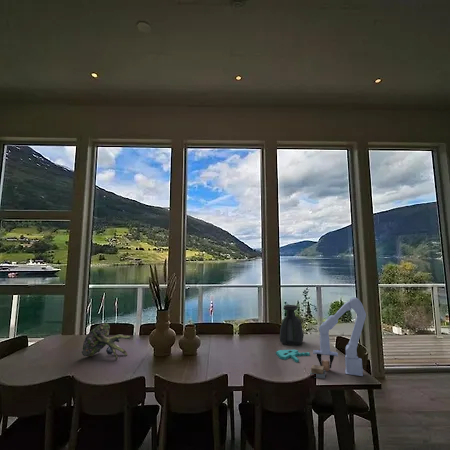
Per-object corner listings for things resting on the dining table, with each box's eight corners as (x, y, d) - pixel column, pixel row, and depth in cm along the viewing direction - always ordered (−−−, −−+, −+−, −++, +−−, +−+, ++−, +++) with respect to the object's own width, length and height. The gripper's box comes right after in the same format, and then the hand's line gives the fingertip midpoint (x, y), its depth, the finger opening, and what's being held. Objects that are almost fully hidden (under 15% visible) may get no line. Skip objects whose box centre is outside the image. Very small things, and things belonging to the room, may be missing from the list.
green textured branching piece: (73, 350, 193) (124, 347, 192) (87, 318, 215) (134, 315, 213) (85, 369, 206) (134, 366, 205) (97, 337, 228) (141, 334, 226)
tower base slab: (325, 374, 173) (325, 370, 173) (324, 379, 166) (324, 375, 166) (311, 372, 176) (311, 368, 176) (310, 377, 169) (310, 373, 169)
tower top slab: (324, 370, 173) (323, 366, 173) (322, 374, 167) (322, 369, 167) (312, 369, 175) (312, 364, 176) (311, 372, 170) (311, 368, 170)
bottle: (279, 344, 238) (277, 306, 242) (283, 339, 253) (282, 304, 257) (301, 346, 231) (299, 307, 235) (304, 341, 246) (302, 305, 250)
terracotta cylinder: (330, 369, 181) (329, 360, 181) (329, 371, 177) (329, 362, 177) (322, 368, 182) (322, 359, 183) (322, 370, 178) (321, 362, 179)
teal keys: (309, 355, 208) (284, 350, 221) (309, 352, 209) (284, 347, 221) (297, 363, 193) (271, 357, 206) (297, 359, 193) (271, 354, 206)
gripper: (337, 343, 183) (338, 366, 181) (313, 341, 188) (314, 363, 186) (337, 346, 176) (338, 370, 174) (312, 344, 181) (313, 367, 180)
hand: (325, 367), depth 180 cm, fingers open, 5 cm apart
